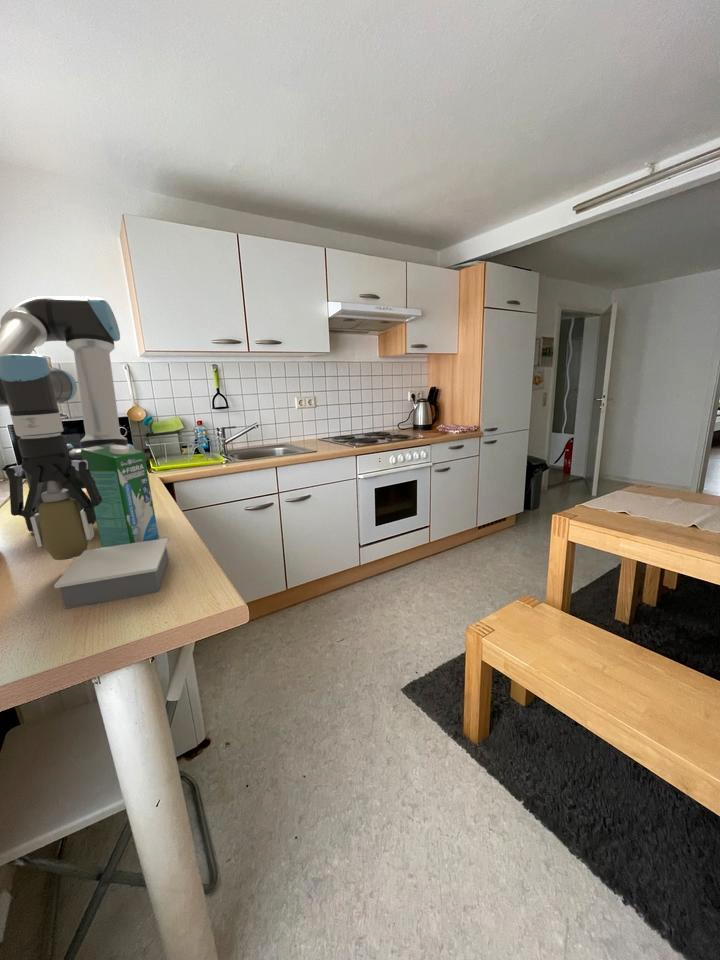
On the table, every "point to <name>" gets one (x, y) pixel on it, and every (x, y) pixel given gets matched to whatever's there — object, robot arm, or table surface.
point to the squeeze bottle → (61, 523)
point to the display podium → (114, 573)
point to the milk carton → (121, 494)
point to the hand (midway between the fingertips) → (67, 540)
